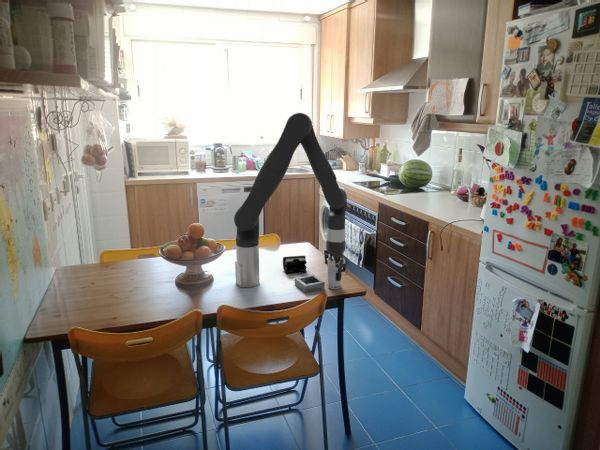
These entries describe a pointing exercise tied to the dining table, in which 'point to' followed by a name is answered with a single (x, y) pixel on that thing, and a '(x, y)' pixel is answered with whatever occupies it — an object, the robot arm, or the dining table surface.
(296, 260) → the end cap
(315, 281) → the metal collar
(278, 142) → the robot arm
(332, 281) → the energy drink
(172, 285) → the dining table surface
